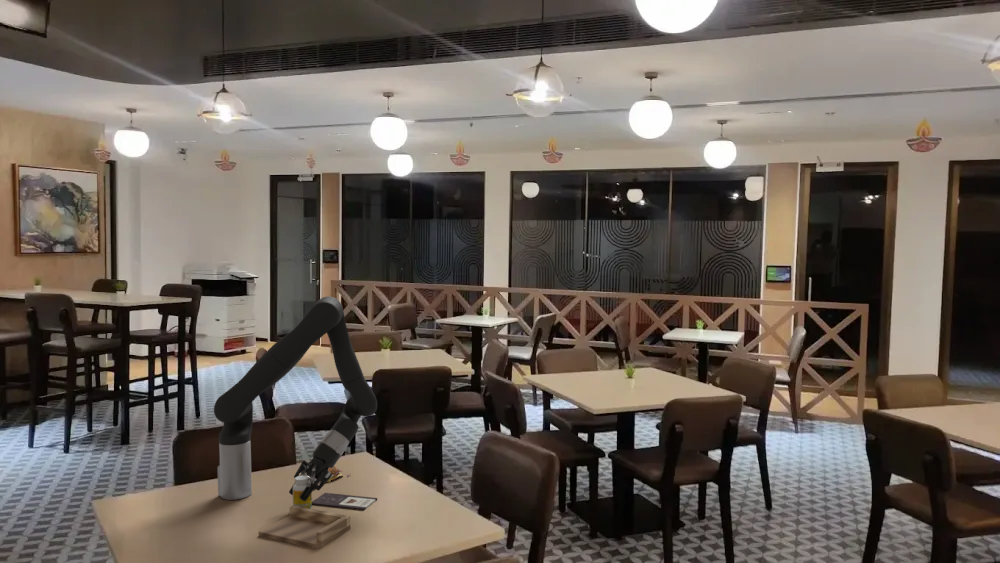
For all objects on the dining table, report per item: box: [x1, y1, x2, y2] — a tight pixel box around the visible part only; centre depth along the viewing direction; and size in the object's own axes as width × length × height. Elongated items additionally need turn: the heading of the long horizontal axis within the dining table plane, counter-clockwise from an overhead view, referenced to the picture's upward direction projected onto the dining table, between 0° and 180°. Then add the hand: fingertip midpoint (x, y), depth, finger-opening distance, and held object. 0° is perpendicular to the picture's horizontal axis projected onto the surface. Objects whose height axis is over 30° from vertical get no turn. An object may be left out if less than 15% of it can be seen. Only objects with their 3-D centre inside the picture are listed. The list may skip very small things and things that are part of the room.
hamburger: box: [326, 465, 350, 483], centre depth 239 cm, size 14×14×6 cm
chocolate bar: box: [312, 492, 378, 511], centre depth 216 cm, size 9×1×18 cm
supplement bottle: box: [292, 475, 313, 509], centre depth 208 cm, size 5×5×10 cm
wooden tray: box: [258, 504, 351, 550], centre depth 193 cm, size 20×14×4 cm
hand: (296, 496), depth 207 cm, fingers closed on supplement bottle, 5 cm apart
